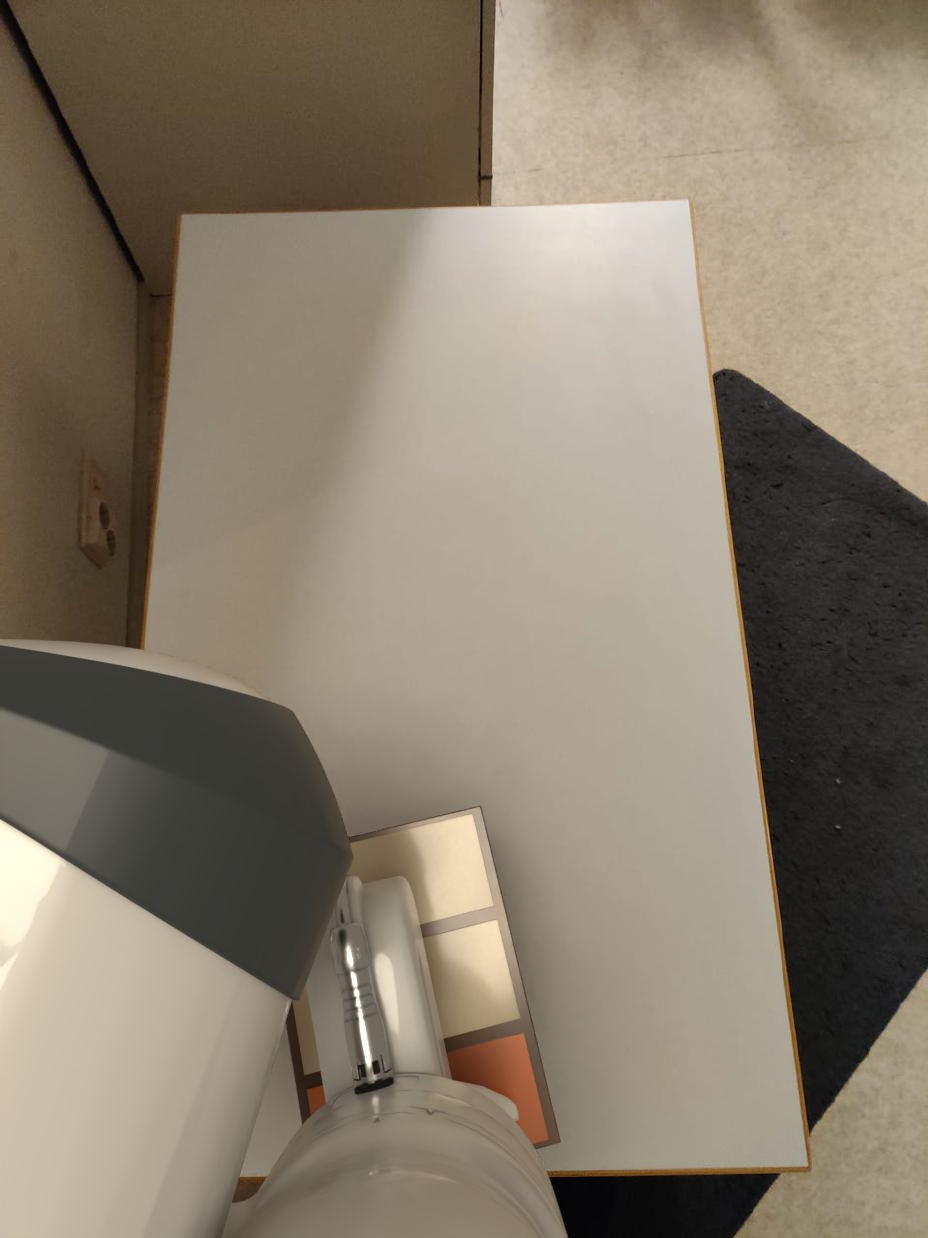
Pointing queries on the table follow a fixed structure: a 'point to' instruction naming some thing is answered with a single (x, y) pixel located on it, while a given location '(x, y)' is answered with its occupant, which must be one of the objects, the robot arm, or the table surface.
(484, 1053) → the board
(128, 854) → the robot arm
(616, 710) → the table surface
